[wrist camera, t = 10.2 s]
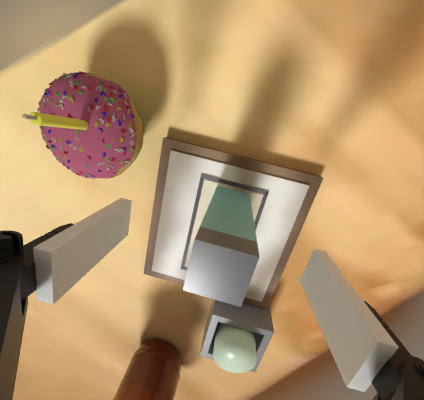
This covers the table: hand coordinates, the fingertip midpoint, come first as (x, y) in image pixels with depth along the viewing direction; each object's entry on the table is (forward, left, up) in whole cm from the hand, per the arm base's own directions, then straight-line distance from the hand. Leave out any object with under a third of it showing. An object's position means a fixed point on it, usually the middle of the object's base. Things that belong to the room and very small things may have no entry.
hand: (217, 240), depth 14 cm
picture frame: (0, -3, -9) cm, 9 cm away
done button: (+5, -16, -7) cm, 18 cm away
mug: (-3, -28, -9) cm, 30 cm away
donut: (-13, +5, -9) cm, 16 cm away
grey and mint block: (0, 0, -7) cm, 7 cm away
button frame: (+5, -16, -9) cm, 19 cm away
